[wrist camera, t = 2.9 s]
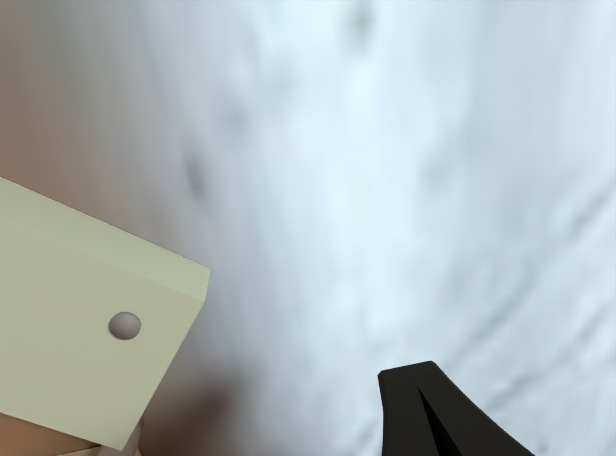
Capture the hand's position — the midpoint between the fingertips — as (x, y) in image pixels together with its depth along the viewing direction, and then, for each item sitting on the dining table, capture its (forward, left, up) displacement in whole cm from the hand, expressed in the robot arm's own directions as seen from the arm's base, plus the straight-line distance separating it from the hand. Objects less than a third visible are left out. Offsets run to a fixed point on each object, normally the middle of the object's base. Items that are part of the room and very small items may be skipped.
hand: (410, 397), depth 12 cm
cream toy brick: (-11, 0, -8) cm, 14 cm away
